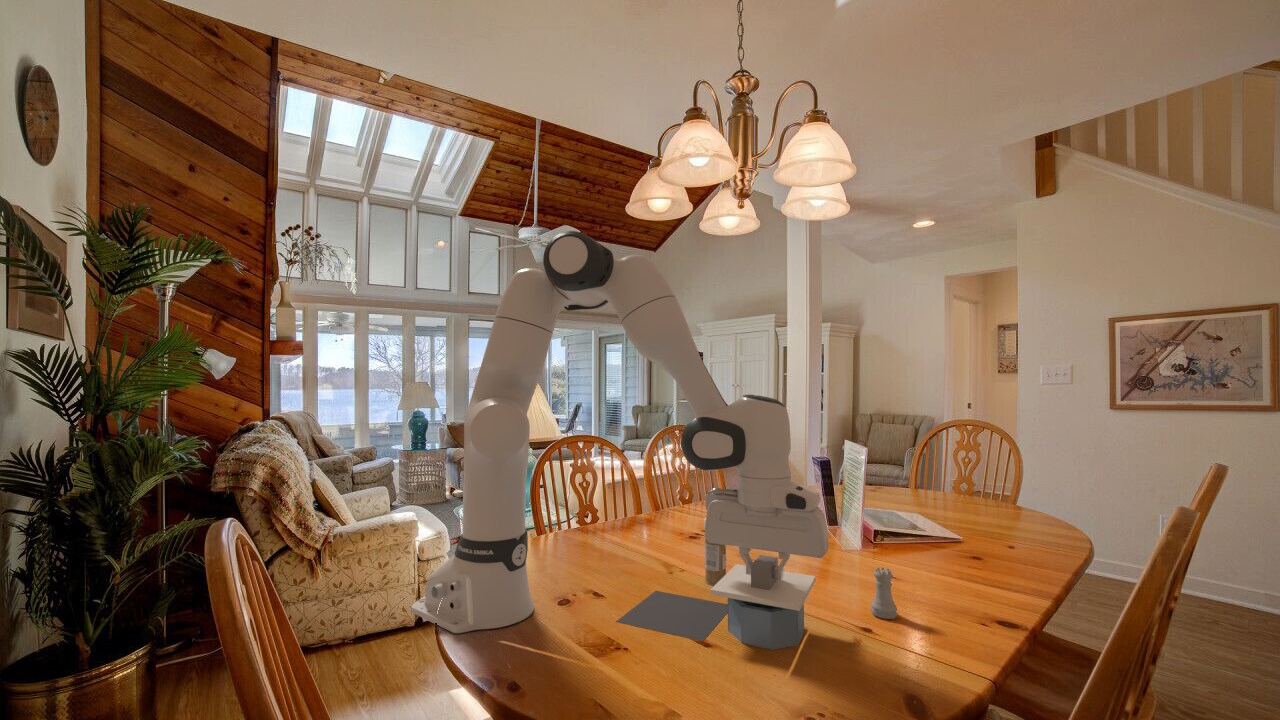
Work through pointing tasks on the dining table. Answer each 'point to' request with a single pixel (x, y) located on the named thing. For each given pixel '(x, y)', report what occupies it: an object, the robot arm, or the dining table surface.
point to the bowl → (765, 624)
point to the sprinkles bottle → (714, 562)
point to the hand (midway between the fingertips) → (764, 576)
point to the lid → (765, 585)
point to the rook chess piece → (883, 595)
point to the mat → (676, 615)
